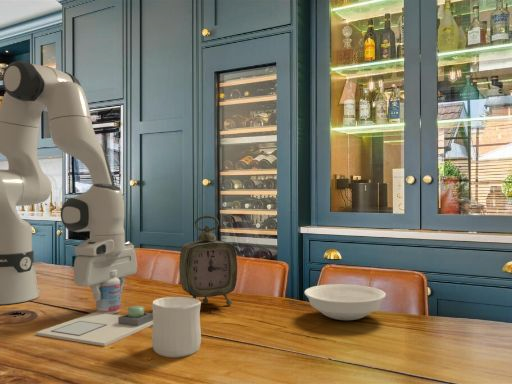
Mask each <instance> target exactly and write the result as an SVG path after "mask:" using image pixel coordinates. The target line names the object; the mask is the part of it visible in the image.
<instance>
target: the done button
mask: <svg viewBox="0 0 512 384" xmlns="http://www.w3.org/2000/svg"><path fill="white" fill-rule="evenodd" d="M144 308H145V307H144V306H142V305H134V306H133V305H132V306H130V307H128V309H127V310H128V312H127V314H128V317H130V318H140V317H142V316H144V312H145V309H144Z"/></svg>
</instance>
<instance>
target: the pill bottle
mask: <svg viewBox="0 0 512 384" xmlns="http://www.w3.org/2000/svg"><path fill="white" fill-rule="evenodd" d="M116 276H117V270H113V271H110V277H111V279H110V280H108V281H106V282H102V283H100V287H98V288H99V290H100V293H103V299H102V300H99V301H96V300H95V301H96V313H104V314H112V315H116V314H117V313H119V312H120V311H122V310H121V309H122V307H121V303H122V302H121V294H120V280H119V279H118V278H116Z"/></svg>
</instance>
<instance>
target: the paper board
mask: <svg viewBox="0 0 512 384" xmlns="http://www.w3.org/2000/svg"><path fill="white" fill-rule="evenodd" d="M120 316H121V315H120V314H119V315H117V314H104V313H97V311H95V312H90V313H88V314H85V315H83V316H82V315H81V316H80V317H79V316H78V317H77V318H74V319H71V320H68V321H64V322H62V323H59V324H56V325H53V326H51V327H46V328H44V329H41V330H39V331H35V336H38V337H39V336H41V337H47V338H52V339H59V340H64V341H70V342H76V343H84V344H88V345H95V346H101V347H107V346H109V345H111V344H113V343H115V342H117V341H120V340H122V339H124V338H126V337H128V336H131V335H133V334H135V333H137V332H140V331H142V330H145V329H147V328H149V327H151V326H153V320H152V321H150V322H147V323H145V324H143V325H141V326H131V325H123V324H118V317H120Z"/></svg>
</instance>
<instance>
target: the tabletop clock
mask: <svg viewBox="0 0 512 384" xmlns="http://www.w3.org/2000/svg"><path fill="white" fill-rule="evenodd" d="M203 219H212V220H214V221H215V222H216V225H215V226H214V227H210V226H209V225H206V226H204V228H203V227H198V224H197V223H198V221H200V220H203ZM219 226H220V222H219V220H218V218H217V217H215V216H212V215H203V216H199V217H198V218H197V219H195V221H194V227H195V228H196V229H197V230H198V231H203V232H200V234H199V235H198V238H197V241H190V242H187V243H185V244H183V245H182V247H181V249H180V253H179V264H178V270H179V280H180V286H181V287H182V290H183V291H184V292H186V293H187V294H189V295H190V296H192V298H195V299H197V298H203V299H202V304H204V305H206V304H208V303H209V299H208V298H209V297H211V298H212V297H218V296H222V297H224V298H225V300H226V301H225V302H226V305H228V306H231V305H232V304H233V301H232V299H230V298H229V297H228V295H227V294H230V293H232V292H234V290H235V289H236V288H235V287H236V285H237V280H238V260H237V259H238V258H237V253H236V248H235V245H233V244H230V243H227V242H223V241H220V240H217V236H216V234H214V233H213V232H211V231H214V230H216V229H217V228H218V227H219Z"/></svg>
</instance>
